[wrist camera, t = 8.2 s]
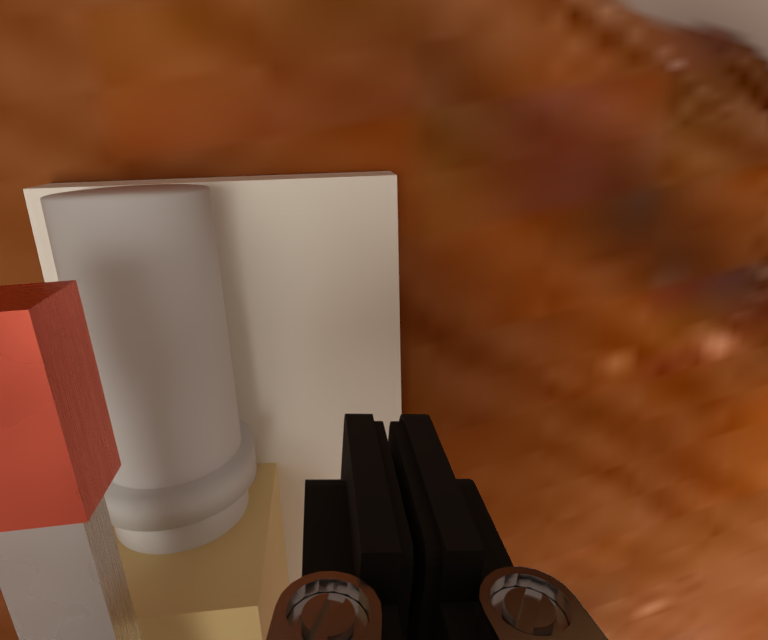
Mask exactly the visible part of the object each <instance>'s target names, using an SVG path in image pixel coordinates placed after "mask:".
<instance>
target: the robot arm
mask: <svg viewBox="0 0 768 640" xmlns="http://www.w3.org/2000/svg"><path fill="white" fill-rule="evenodd" d="M266 640H608V638H607V637H606V636H605V634H604V633H603V632H602V631H601V629H600V628H599V627H598V625H597V624H596V623H595V621H594V620H593V619H592V617H591V616H590V615H589V613H588V612H587V611H586V610H585V608H584V607H583V606H582V604H581V603H580V602H579V600H578V599H577V598H576V596H575V595H574V594H573V593H572V592H571V591H570V590H569V589H568V588H567V587H566V586H565V585H564V584H563V583H561V582H560V581H558V580H557V579H555V578H554V577H552V576H551V575H548V574H546V573H543V572H541V571H539V570H536V569H531V568H526V567H521V566H516V567H514V566H513V564H512V562H511V560H510V558H509V556H508V553H507V551H506V549H505V547H504V545H503V543H502V541H501V539H500V536H499V534H498V532H497V530H496V528H495V526H494V524H493V521H492V519H491V517H490V515H489V513H488V511H487V509H486V506H485V504H484V502H483V500H482V498H481V496H480V494H479V491H478V489H477V487H476V485H475V483H474V482H473V480H471V479H456V478H455V476H454V474H453V471H452V469H451V466H450V464H449V462H448V459H447V457H446V455H445V452H444V450H443V447H442V445H441V443H440V440H439V438H438V435H437V433H436V431H435V428H434V426H433V423H432V421H431V419H430V416H429V415H425V414H401V415H400V419H399V421H391V422H390V425H389V435H388V439H387V435H386V431H385V427H384V423H383V421H374V418H373V414H346V413H345V416H344V429H343V446H342V463H341V479H305V495H304V522H303V552H302V577H301V578H299V579H297V580H296V581H294V582H292V583H291V584H290V585H289V586H288V587H287V588H286V589H285V590H284V591H283V592H282V593H281V595H280V597H279V599H278V601H277V603H276V605H275V609H274V612H273V616H272V620H271V623H270V627H269V630H268V634H267V638H266Z"/></svg>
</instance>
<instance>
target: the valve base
mask: <svg viewBox="0 0 768 640" xmlns="http://www.w3.org/2000/svg"><path fill="white" fill-rule="evenodd" d="M23 191H24V196H25V200H26V204H27V208H28V213H29V217H30V221H31V225H32V230H33V234H34V238H35V243H36V247H37V251H38V255H39V260H40V264H41V268H42V272H43V277H44V281H45V282H56V281H69V280H76V282H77V286H78V290H79V294H80V298H81V302H82V306H83V310H84V314H85V318H86V322H87V326H88V331H89V335H90V339H91V343H92V347H93V351H94V355H95V359H96V363H97V367H98V371H99V375H100V379H101V384H102V388H103V392H104V396H105V400H106V404H107V408H108V412H109V416H110V420H111V424H112V428H113V432H114V437H115V441H116V445H117V449H118V453H119V457H120V461H121V467H120V468H119V470H118V472H117V474H116V475H115V477H114V479H113V480H112V482H111V484H110V485H109V487H108V489H107V491H106V492H105V494H104V497H105V501H106V505H107V508H108V512H109V516H110V520H111V524H112V527H113V531H114V535H115V539H116V543H117V546H118V550H119V554H120V558H121V562H122V565H123V569H124V573H125V577H126V581H127V585H128V588H129V592H130V596H131V600H132V604H133V607H134V611H135V615H136V619H137V623H138V626H139V630H140V634H141V638H142V640H266V638H267V634H268V630H269V627H270V623H271V620H272V616H273V612H274V609H275V605H276V603H277V601H278V599H279V597H280V595H281V593H282V592H283V591H284V590H285V589H286V588H287V587H288V586H289V585H290V584H291V583H292V582H294V581H296V580H297V579H299V578H301V577H302V552H303V522H304V495H305V479H341V463H342V446H343V429H344V416H345V413H346V414H373V418H374V421H383V423H384V427H385V431H386V435H387V439H388V435H389V425H390V422H391V421H399V419H400V415H401V414H402V409H401V357H400V305H399V253H398V201H397V175H396V174H394V173H393V172H391V171H371V172H344V173H317V174H289V175H262V176H234V177H207V178H180V179H152V180H125V181H97V182H70V183H50V184H45V185H40V186H35V187H30V188H25V189H23Z"/></svg>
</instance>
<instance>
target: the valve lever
mask: <svg viewBox="0 0 768 640" xmlns="http://www.w3.org/2000/svg"><path fill="white" fill-rule="evenodd" d="M120 467H121V461H120V457H119V453H118V449H117V445H116V441H115V437H114V432H113V428H112V424H111V420H110V416H109V412H108V408H107V404H106V400H105V396H104V392H103V388H102V384H101V379H100V375H99V371H98V367H97V363H96V359H95V355H94V351H93V347H92V343H91V339H90V335H89V331H88V326H87V322H86V318H85V314H84V310H83V306H82V302H81V298H80V294H79V290H78V286H77V282H76V280H69V281H56V282H43V283H31V284H18V285H5V286H0V588H1V591H2V593H3V596H4V599H5V602H6V605H7V607H8V610H9V613H10V616H11V619H12V621H13V624H14V627H15V630H16V632H17V635H18V638H19V640H142V638H141V634H140V630H139V626H138V623H137V619H136V615H135V611H134V607H133V604H132V600H131V596H130V592H129V588H128V585H127V581H126V577H125V573H124V569H123V565H122V562H121V558H120V554H119V550H118V546H117V543H116V539H115V535H114V531H113V527H112V524H111V520H110V516H109V512H108V508H107V505H106V501H105V497H104V494H105V492H106V491H107V489H108V487H109V485H110V484H111V482H112V480H113V479H114V477H115V475H116V474H117V472H118V470H119V468H120Z"/></svg>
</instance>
